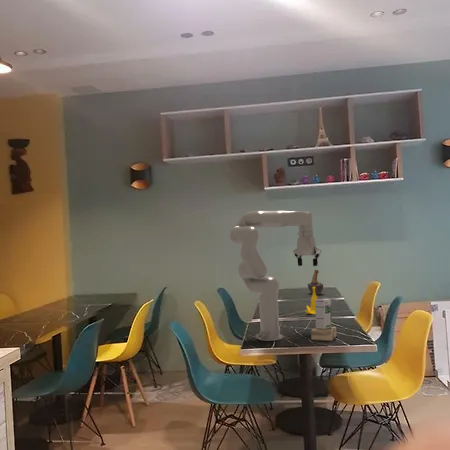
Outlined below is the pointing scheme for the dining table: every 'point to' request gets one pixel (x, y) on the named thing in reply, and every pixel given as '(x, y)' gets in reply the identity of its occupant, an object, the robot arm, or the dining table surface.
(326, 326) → the syrup box
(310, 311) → the banana peel
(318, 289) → the mortar and pestle
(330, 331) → the beech block
